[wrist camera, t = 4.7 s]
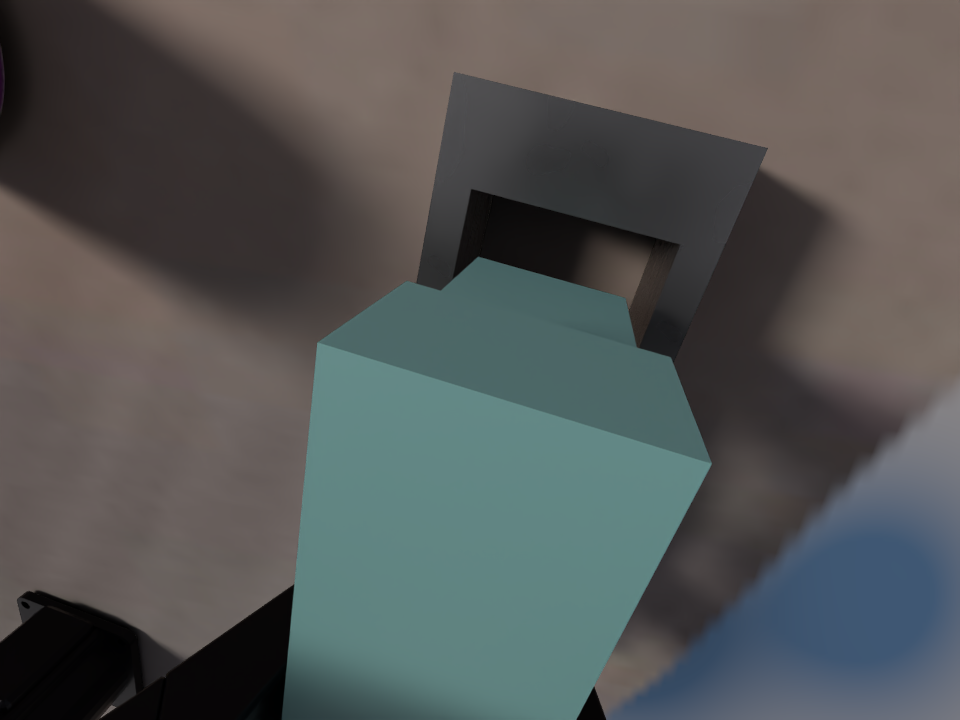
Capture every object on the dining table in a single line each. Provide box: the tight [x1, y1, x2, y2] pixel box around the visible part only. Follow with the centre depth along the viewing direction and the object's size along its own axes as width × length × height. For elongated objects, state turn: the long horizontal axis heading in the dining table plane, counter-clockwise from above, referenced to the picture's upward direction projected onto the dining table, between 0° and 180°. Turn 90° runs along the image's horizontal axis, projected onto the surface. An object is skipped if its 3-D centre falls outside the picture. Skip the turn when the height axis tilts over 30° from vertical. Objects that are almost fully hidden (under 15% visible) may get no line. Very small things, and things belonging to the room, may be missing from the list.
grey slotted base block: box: [416, 72, 768, 362], centre depth 14 cm, size 16×6×3 cm, turn 167°
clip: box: [282, 257, 712, 720], centre depth 9 cm, size 11×3×6 cm, turn 167°
